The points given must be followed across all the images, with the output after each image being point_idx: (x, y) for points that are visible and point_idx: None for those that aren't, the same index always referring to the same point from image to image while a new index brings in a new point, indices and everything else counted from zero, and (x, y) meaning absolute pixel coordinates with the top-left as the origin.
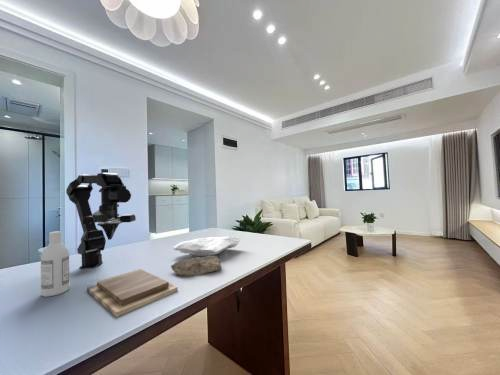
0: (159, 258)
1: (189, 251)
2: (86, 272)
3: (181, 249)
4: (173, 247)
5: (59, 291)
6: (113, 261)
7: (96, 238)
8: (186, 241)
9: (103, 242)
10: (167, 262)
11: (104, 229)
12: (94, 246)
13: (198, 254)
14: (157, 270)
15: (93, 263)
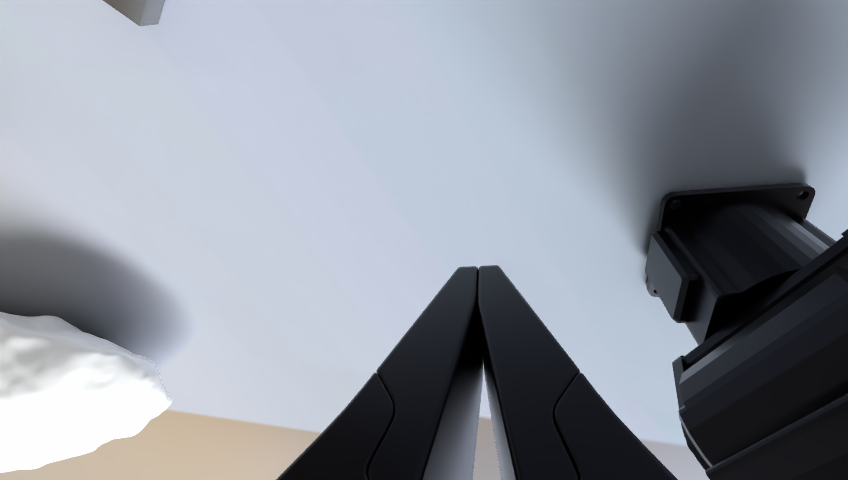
0: (274, 322)
1: (27, 324)
2: (686, 81)
3: (57, 336)
4: (138, 374)
5: None
6: (575, 308)
7: (826, 426)
8: (15, 406)
9: (692, 399)
10: (162, 247)
11: (618, 462)
12: (775, 317)
13: (16, 315)
14: (98, 93)
15: (697, 225)
